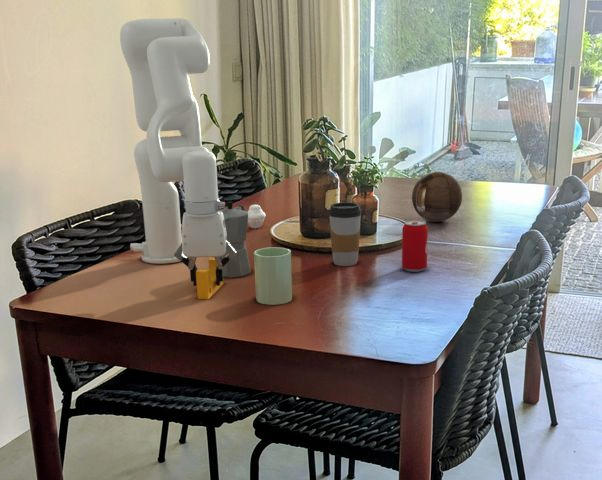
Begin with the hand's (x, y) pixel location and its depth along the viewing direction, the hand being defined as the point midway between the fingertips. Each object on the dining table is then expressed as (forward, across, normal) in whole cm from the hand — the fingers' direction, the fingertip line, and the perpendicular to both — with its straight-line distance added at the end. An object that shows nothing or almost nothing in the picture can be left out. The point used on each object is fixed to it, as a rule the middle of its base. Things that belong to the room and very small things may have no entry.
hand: (207, 283), depth 202 cm
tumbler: (+2, -16, +7) cm, 18 cm away
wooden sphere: (+2, -62, -67) cm, 91 cm away
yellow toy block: (+2, 0, 0) cm, 2 cm away
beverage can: (+2, -50, -15) cm, 52 cm away
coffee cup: (+2, -33, -22) cm, 40 cm away
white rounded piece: (+2, -7, -64) cm, 64 cm away
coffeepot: (+2, -5, -16) cm, 17 cm away
